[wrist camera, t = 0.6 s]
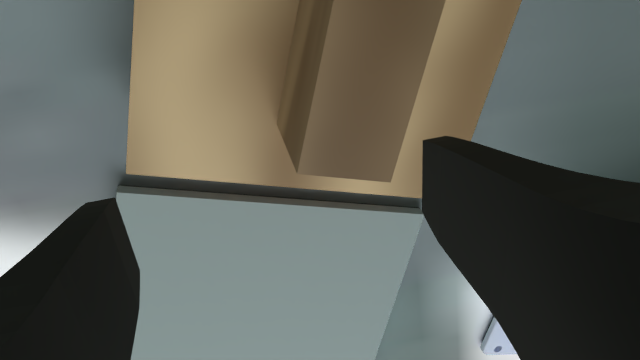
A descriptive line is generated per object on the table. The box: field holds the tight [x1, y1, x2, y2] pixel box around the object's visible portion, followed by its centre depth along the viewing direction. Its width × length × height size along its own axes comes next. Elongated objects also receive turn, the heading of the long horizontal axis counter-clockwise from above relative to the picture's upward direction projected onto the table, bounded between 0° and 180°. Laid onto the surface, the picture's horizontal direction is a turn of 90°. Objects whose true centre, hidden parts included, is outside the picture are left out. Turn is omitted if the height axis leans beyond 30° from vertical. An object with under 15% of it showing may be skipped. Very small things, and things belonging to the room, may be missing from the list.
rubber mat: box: [116, 185, 424, 360], centre depth 25 cm, size 14×14×1 cm
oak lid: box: [126, 0, 522, 198], centre depth 15 cm, size 13×13×5 cm
